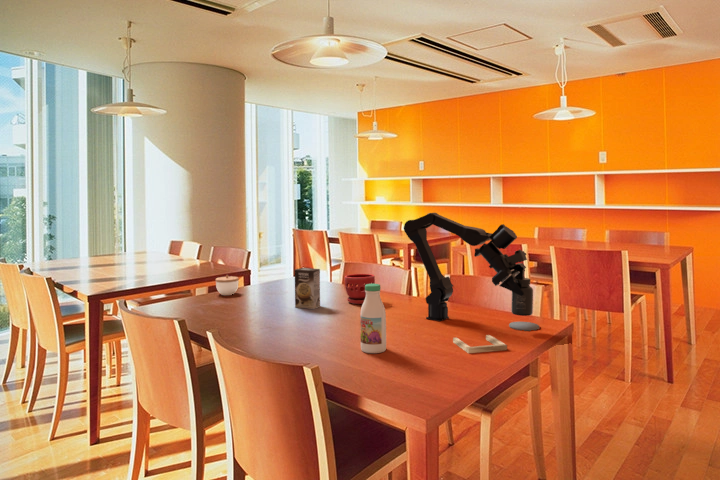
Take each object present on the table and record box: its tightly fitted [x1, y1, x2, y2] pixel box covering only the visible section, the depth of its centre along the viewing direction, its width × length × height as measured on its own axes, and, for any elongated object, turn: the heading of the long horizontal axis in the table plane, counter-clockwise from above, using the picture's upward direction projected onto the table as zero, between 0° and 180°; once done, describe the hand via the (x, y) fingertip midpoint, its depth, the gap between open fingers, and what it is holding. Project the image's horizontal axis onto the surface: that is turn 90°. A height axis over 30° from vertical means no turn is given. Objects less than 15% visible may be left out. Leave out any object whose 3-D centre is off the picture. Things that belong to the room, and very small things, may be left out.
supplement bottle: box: [510, 277, 534, 317], centre depth 165 cm, size 7×7×12 cm
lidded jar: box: [215, 274, 240, 296], centre depth 236 cm, size 11×11×9 cm
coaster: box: [508, 321, 540, 332], centre depth 171 cm, size 10×10×1 cm
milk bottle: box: [359, 283, 387, 354], centre depth 147 cm, size 8×8×20 cm
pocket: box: [452, 334, 508, 354], centre depth 151 cm, size 11×12×2 cm
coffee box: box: [294, 267, 321, 310], centre depth 207 cm, size 9×6×16 cm
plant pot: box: [344, 273, 376, 305], centre depth 215 cm, size 13×13×12 cm
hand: (526, 293), depth 164 cm, fingers closed on supplement bottle, 7 cm apart
